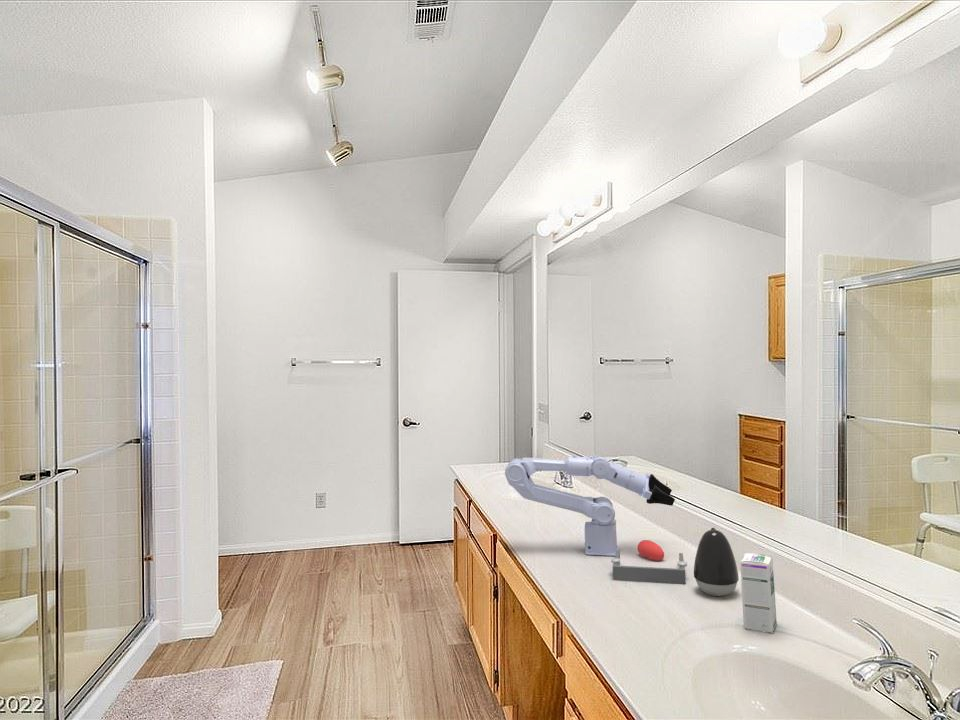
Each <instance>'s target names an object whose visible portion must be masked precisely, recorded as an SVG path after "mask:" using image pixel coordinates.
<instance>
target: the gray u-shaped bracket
mask: <svg viewBox="0 0 960 720" xmlns="http://www.w3.org/2000/svg"><path fill="white" fill-rule="evenodd" d="M610 563H612V578H613V579H612V580H613V581H623V582H624V581H626V582H627V581H628V582H644V583H657V584H658V583H659V584H672V585H673V584H676V585H686V569H685V567H687V566H688V562H687V561H685V559H684V553H683V552H679V553H678V561H677V566H678V567H679V568H672V567H670V568H669V567H651V566H630V565H621V550H620V549H619V550H616V553H615V556H614V557H612V558H610Z"/></svg>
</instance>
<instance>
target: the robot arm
mask: <svg viewBox="0 0 960 720" xmlns="http://www.w3.org/2000/svg"><path fill="white" fill-rule="evenodd" d="M546 471H548V472H565V473H566V475H567V476H573V477H574V476H576V477H577V476H578V477H590V476H594V477H595V478H596V479H599V480H606V481H608V482H610V483H612V484H614V485H616V486H619V487H621V488H623V489H626V490H629V491H631V492H632V493H635V494H638V496H640V497H642V498H645V499H646V503H647V504H649V505H651V504H660V505H665V506H673V505H674V503H675V500H676V498H674V497H673V496H671V493H672V489H671V488H670V487H669V486H667V485H666V484H664V483H663V482H662V481H660V480H659V479H658V478H657V477H655V475H654V474H653V473H651V474H650V473H649V472H647V473H646V474H645V475H644V474H641V473H639V472H636V471H634V470H632V469H630V468H628V467H625V466H622V465H620V464H617V463H614V462H611V461H608V460H607V459H606V458H605V457H602V456H599V455H595V456H593V455H589V456H578V455H577V454H575V453H574V454H572V456H567V458H565V459H552V458H551V459H550V458H541V457H540V458H538V457H521V458H520V457H514V458H512V459H511V460H509V462H508V464H507V466H506V468H505V469H504V476H505V478H506V480H507V483H508V485H509V486H510V487H512V488H513V489H514V490H515V491H516V492H517V493H518V494H519V495H520V497H522V498H523V499H525V500H529V501H532V502H536V503H540V504H544V505H548V506H552V507H555V508H559V509H563V510H568V511H571V512H576V513H580V514H582V515H583V516H585V517H587V518H590V519H591V521H585V522H584V549H585V553H584V554H585V555H588V556H590V555H591V556H608V557H609V556H611V557H615V553H616V550H620V546H618V540H617V539H618V538H617V520H616V519H615V518H616V517H615V516H616V511H615V508H614V506H613V503H612V501H611V500H610V498H608V497H606V496H599V497H594V496H583V495H579V494H575V493H570V492H567V491H562V490H560V489H555V488H551V487H547V486H542V485H539V484H535V483H534V481H533V479H532V477H531V476H532V475H533V474H535V473H536V472H546Z"/></svg>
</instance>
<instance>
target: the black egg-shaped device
mask: <svg viewBox="0 0 960 720" xmlns="http://www.w3.org/2000/svg"><path fill="white" fill-rule="evenodd" d="M693 563H694V565H693V577H694V579H695V582H696V584H697V586H698V587H699V589H700V590H701V591H703V593H705V594H707V595H710V596H714V597H715V596H716V597H725V596H728V595H730V594H732V593H733V592H734V591H735V589H736V588H737V585H738V582H739V571H738V565H737V562H736V557H735V555H734V551H733V548H732V547H731V544H730V541H729V540H728V538H727V537H726V535H725V534H724V533H723V532H721V531H720V530H717V529H716V528H715V527H711V528H710V529H709V530H707V531H705V532H704V533H703V534H702V536H701V538H700V540H699V543H698V546H697V549H696V553H695V559H694V562H693Z"/></svg>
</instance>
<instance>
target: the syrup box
mask: <svg viewBox="0 0 960 720" xmlns="http://www.w3.org/2000/svg"><path fill="white" fill-rule="evenodd" d="M739 563H740V564H739V565H740V566H739V567H740V582H741V584H740V585H741V599H742V614H743V615H742V617H743V628H744V629H746V628H747V629H748V630H750V629H753V630H752V631H755V630H759V631H758V632H761V631H765V632H764V633H767V632H771V633H770V634H774V632H773V631H775V629H774V628H776V626H777V622H778V621H777V608H776V593H775V591H776V590H775V576H774V574H775V573H774V565H773V564H774V560H773V556H770V555H766V554H762V553H761V554H759V553H745V552H744V555H743V556H742V557H741V559H740V561H739ZM747 629H746V630H747Z"/></svg>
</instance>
